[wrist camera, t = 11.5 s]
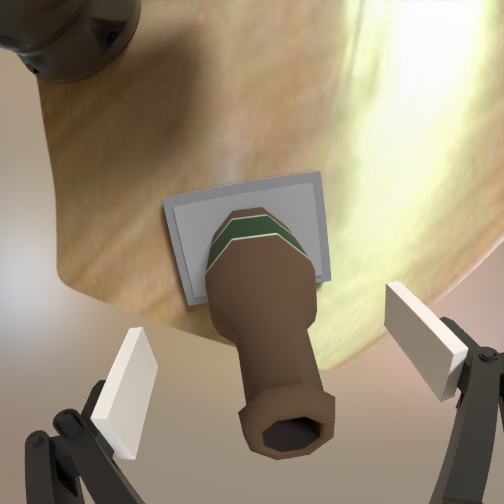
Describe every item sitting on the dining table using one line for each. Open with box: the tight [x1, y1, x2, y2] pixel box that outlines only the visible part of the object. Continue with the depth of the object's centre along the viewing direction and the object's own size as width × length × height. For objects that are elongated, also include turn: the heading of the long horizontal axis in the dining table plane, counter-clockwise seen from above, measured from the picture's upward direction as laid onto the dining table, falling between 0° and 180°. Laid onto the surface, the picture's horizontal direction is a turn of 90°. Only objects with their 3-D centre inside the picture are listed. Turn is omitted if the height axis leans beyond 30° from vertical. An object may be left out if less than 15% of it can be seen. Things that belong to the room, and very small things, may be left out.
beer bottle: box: [205, 207, 335, 460], centre depth 21 cm, size 8×8×24 cm
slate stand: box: [162, 170, 331, 306], centre depth 34 cm, size 12×16×2 cm
